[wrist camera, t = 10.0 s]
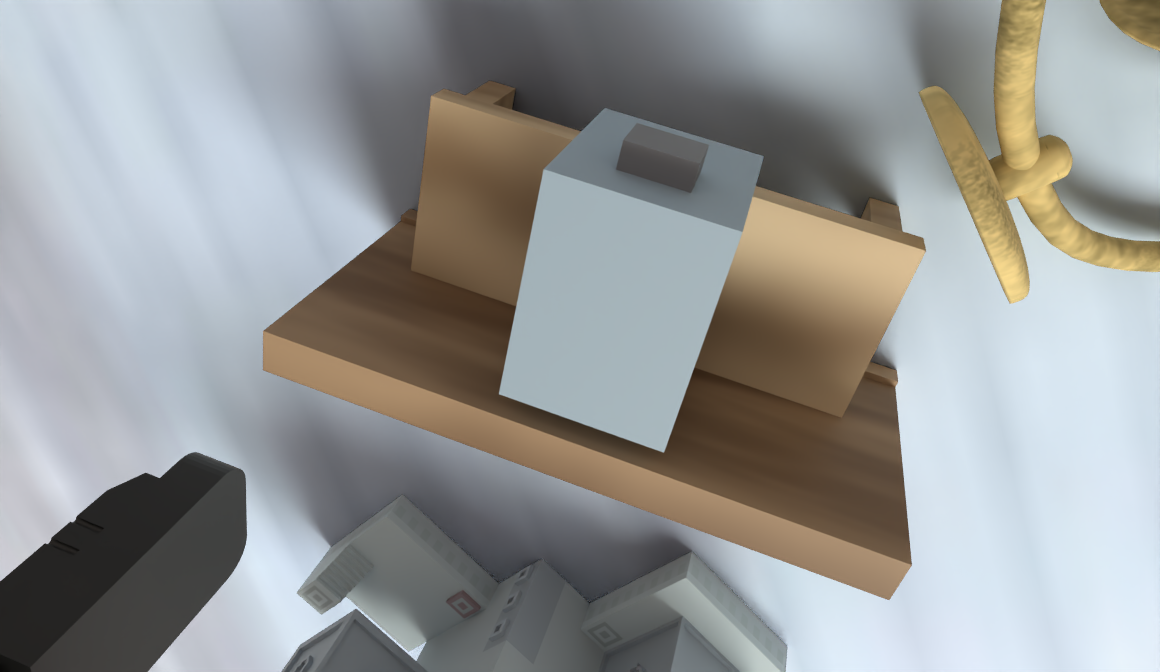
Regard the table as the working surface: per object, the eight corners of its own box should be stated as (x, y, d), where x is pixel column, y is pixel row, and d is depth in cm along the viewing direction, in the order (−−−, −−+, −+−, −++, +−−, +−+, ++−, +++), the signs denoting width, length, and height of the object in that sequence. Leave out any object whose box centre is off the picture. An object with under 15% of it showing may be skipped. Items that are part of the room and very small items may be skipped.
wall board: (427, 53, 30) (263, 127, 21) (975, 222, 27) (1032, 379, 19) (398, 311, 36) (262, 446, 27) (845, 467, 33) (845, 668, 25)
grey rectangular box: (610, 81, 24) (550, 137, 19) (772, 130, 24) (753, 201, 19) (559, 301, 29) (498, 394, 24) (696, 347, 28) (664, 452, 23)
